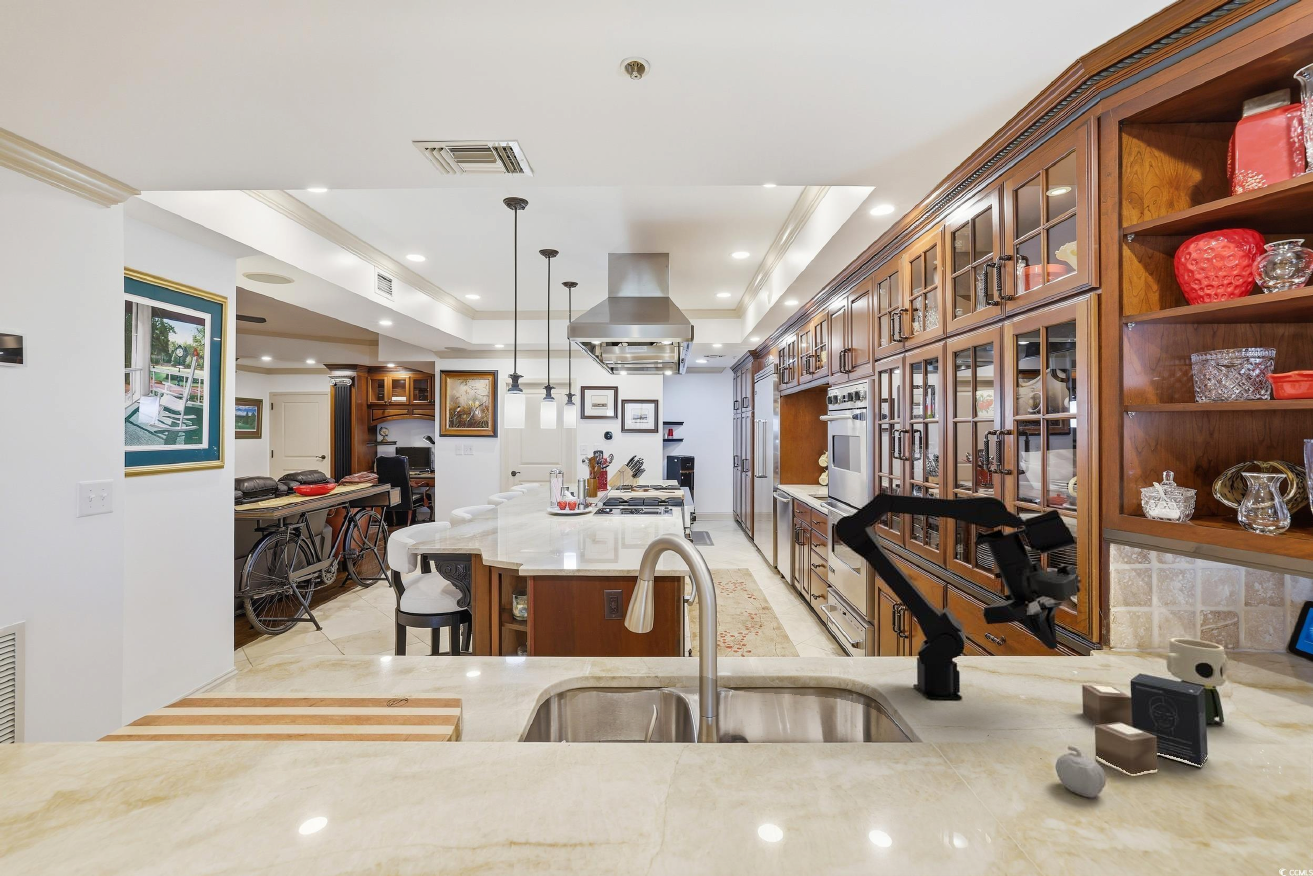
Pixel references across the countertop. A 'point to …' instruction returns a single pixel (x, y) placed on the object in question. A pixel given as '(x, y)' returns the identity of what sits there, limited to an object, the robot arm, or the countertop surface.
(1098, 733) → the walnut cube near
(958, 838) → the countertop surface
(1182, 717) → the box
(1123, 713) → the walnut cube far
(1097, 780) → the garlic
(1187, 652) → the character mug
